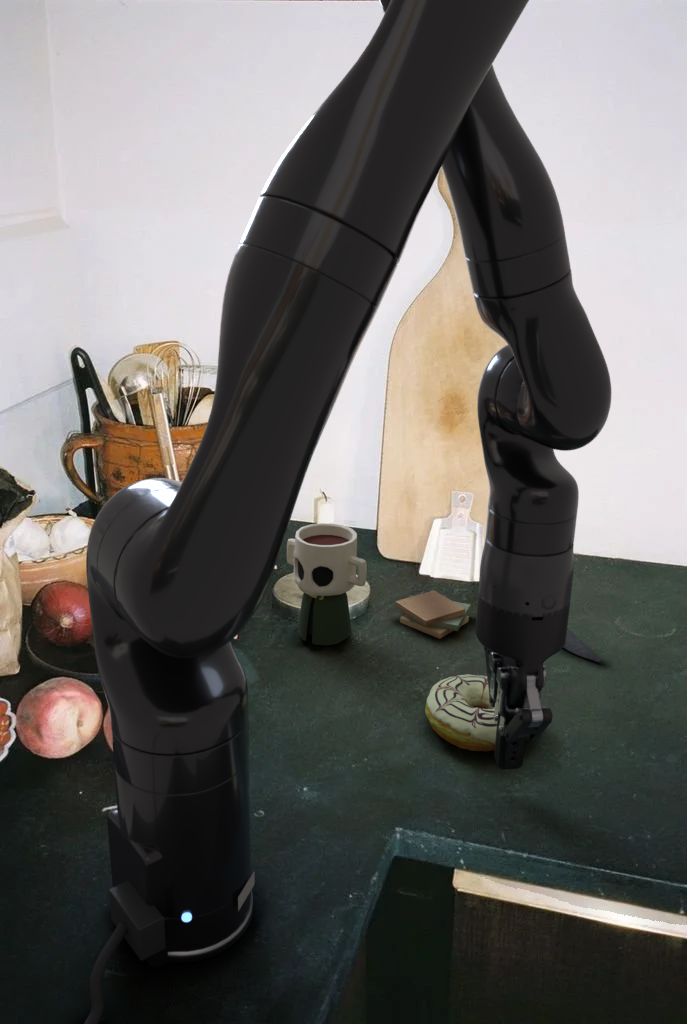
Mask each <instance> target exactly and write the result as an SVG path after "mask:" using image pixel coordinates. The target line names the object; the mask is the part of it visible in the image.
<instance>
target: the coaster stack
mask: <svg viewBox="0 0 687 1024" xmlns="http://www.w3.org/2000/svg"><path fill="white" fill-rule="evenodd" d="M471 607H472V606H471V604H470V603H464V602H458V601H454V600H451V599H450V598H448V597H447V596H445V595H443V594H442V593H440V592H438V591H437V590H435V589H433V590H430V591H427V592H422V593H419V594H416V595H412V596H409V597H406V598H403V599H398V600H395V608H396V609H398V610H399V611H401V612H403V613H404V614H403V615H401V616H400V617H399V623H400V624H402V625H405V626H408V627H410V628H412V629H415V630H417V631H419V632H422V633H424V634H427V635H429V636H432V637H434V638H437V639H438V640H440V639H442V638H444V637H445V636H447V635H449V634H450V633H451V634H452V632H454V631H455V632H459V630H460V628H461V627H462V626H464V625H466V624H467V623H469V621H470V616H469V615H468V614H469V613H470V611H471Z"/></svg>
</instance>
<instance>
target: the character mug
mask: <svg viewBox="0 0 687 1024" xmlns="http://www.w3.org/2000/svg"><path fill="white" fill-rule="evenodd" d="M357 555H358V534H357V532H356V531H355V530H354V529H353V528H351V527H348V526H347V525H344V524H337V523H333V522H332V523H329V522H328V523H326V522H324V523H323V522H319V523H312V524H308V525H304V526H302V527H300V528H299V529H298V530H296V532H295V537H294V538H288V540H287V542H286V562H287V564H288V565H291V566H292V567H293V578H294V583H295V584H296V585H297V587H298V589H299V590H300V591H301V592H302V596H301V597H302V598H301V603H300V610H299V617H298V627H297V630H298V631H297V633H298V634H297V635H298V637H299V638H300V639H301V640H302V641H305V642H307V634H308V635H310V636H311V637H312V639H311V644H312V645H316V646H318V645H319V646H331V645H338V644H339V643H341V642H343V641H344V640H346V639H347V638H348V637H349V636H350V635H351V633H352V623H351V614H350V606H349V597H348V594H347V592H348V593H349V591H351V590H352V589H353V588H354V587H355V586H358V587H365V585H366V582H367V573H368V571H367V570H368V569H367V568H368V567H367V566H368V564H367V561H366V560H365V559H364V558H360V557H358V556H357Z"/></svg>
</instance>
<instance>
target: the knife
mask: <svg viewBox="0 0 687 1024" xmlns="http://www.w3.org/2000/svg"><path fill="white" fill-rule="evenodd" d="M562 649H565V650H566V651H568V652H569V653H572V654H573V655H576V656H578V657H582V658H583V659H587V660H590V661H593V662H596V663H602V660H601V658H600V657H599V656H598V654H596V653H595V651H593V650H592V649H591V647H589V646H588V645H587V644H586V643H585V642H584V641H583V640H582V639H579V638H578V636H577V635H575V633H574V632H573V631H571V630H569V627H567V635H566V642H565V645H564V647H563V648H562Z"/></svg>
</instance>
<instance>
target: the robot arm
mask: <svg viewBox="0 0 687 1024" xmlns="http://www.w3.org/2000/svg"><path fill="white" fill-rule="evenodd" d="M529 1H530V0H378V2H379V4H380V7H381V9H382V13H383V14H384V15H383V16H382V18H381V20H380V23H379V25H378V26H377V28H376V30H375V32H374V34H373V35H372V37H371V39H370V41H369V42H368V44H367V45H366V47H365V49H364V50H363V51H362V53H361V54H360V56H359V57H358V59H357V60H356V61H355V63H354V64H353V65H352V67H351V68H350V69H349V70H348V72H347V73H346V74H345V75H344V76H343V78H342V79H341V81H340V82H339V83H338V84H337V85H336V86H335V88H334V89H333V90H332V91H331V92H330V94H328V96H327V97H326V98H325V100H324V101H323V102H322V103H321V104H320V105H319V107H317V109H316V111H315V112H314V113H313V114H312V115H311V116H310V118H309V119H308V120H307V121H306V123H305V124H304V126H303V127H302V128H301V130H300V131H299V132H298V133H297V135H296V136H295V138H294V139H293V140H292V141H291V143H290V144H289V145H288V147H287V148H286V150H285V152H283V153H282V155H281V157H280V158H279V160H278V161H277V162H276V164H275V166H274V168H273V170H272V171H271V173H270V175H269V176H268V178H267V180H266V183H265V184H264V186H263V189H262V191H261V193H260V196H259V198H258V200H257V202H256V204H255V207H254V210H253V211H252V214H251V215H250V218H249V221H248V222H247V225H246V227H245V230H244V231H243V234H242V237H241V239H240V241H239V244H238V246H237V248H236V251H235V254H234V256H233V259H232V262H231V264H230V266H229V267H230V268H229V271H228V274H227V278H226V282H225V285H224V292H223V298H222V305H221V315H220V322H219V323H220V324H219V337H218V355H217V357H218V358H217V369H216V378H215V386H214V387H215V388H214V394H213V399H212V404H211V409H210V413H209V417H208V420H207V422H206V423H207V424H206V427H205V430H204V432H203V434H202V438H201V440H200V443H199V445H198V447H197V448H196V451H195V453H194V456H193V458H192V460H191V463H190V464H189V467H188V469H187V470H186V473H185V475H184V478H183V479H182V481H179V480H176V479H172V478H165V477H153V478H146V479H142V480H141V479H140V480H138V481H135V482H132V483H131V484H128V485H126V486H125V487H123V488H121V489H120V490H117V492H115V494H113V495H112V496H111V497H110V498H109V499H108V500H107V501H106V502H105V503H104V504H103V506H102V507H101V508H100V510H99V511H98V514H97V515H96V517H95V519H94V521H93V523H92V526H91V529H90V532H89V535H88V539H87V547H86V555H85V556H86V558H85V565H86V566H85V567H86V568H85V569H86V585H87V594H88V603H89V611H90V621H91V629H92V638H93V647H94V654H95V662H96V667H97V670H98V671H97V672H98V676H99V679H100V683H101V686H102V689H103V692H104V694H105V695H104V696H105V698H106V701H107V705H108V712H109V721H110V730H111V743H112V757H113V770H114V772H113V773H114V782H115V784H114V785H115V798H116V808H114V809H111V810H109V811H108V812H107V814H106V826H107V839H108V849H109V861H110V872H111V873H110V874H111V885H112V887H111V888H109V889H108V896H109V905H110V906H109V909H110V920H111V921H112V923H113V924H114V925H115V929H114V931H113V932H112V934H111V935H110V937H109V938H108V940H107V941H106V943H105V945H104V946H103V947H102V949H101V951H100V953H99V954H98V957H97V959H96V961H95V962H94V965H93V968H92V972H91V975H90V979H89V994H90V1001H91V1002H90V1003H91V1008H90V1013H89V1014H88V1016H87V1018H86V1019H85V1021H84V1023H83V1024H99V1023H100V1021H101V1019H102V1017H103V1014H104V1010H105V999H104V992H103V978H104V976H105V972H106V970H107V968H108V966H109V963H110V961H111V959H112V957H113V955H114V954H115V952H116V951H117V949H118V948H119V947H120V944H121V943H122V941H123V940H124V939H125V940H126V942H127V944H128V945H129V946H130V948H131V949H132V951H133V952H134V953H135V954H136V956H137V957H138V959H139V960H140V961H144V960H145V961H146V962H147V963H148V965H149V966H150V968H152V969H157V968H159V967H161V966H163V965H165V964H167V963H176V964H177V963H179V964H180V963H181V964H182V963H183V964H185V963H193V962H199V961H203V960H207V959H210V958H213V957H216V956H217V955H219V954H221V953H223V952H225V951H227V950H228V949H230V948H231V947H232V946H233V945H235V944H236V943H237V942H238V941H239V940H240V939H241V938H242V937H243V935H244V934H245V933H246V931H247V929H248V928H249V926H250V924H251V921H252V918H253V912H254V898H253V896H254V895H253V888H254V886H255V883H256V882H255V881H256V880H255V875H256V874H255V871H253V872H252V853H251V850H252V849H251V847H252V846H251V792H250V791H251V789H250V785H251V783H250V722H249V721H250V720H249V719H250V717H249V716H250V715H249V688H248V686H249V685H248V680H247V676H246V673H245V671H244V668H243V666H242V664H241V662H240V659H239V658H238V656H237V654H236V651H235V650H234V647H233V645H232V640H234V639H235V638H236V637H237V636H238V635H240V633H241V632H242V631H243V630H244V628H245V627H246V626H247V624H248V623H249V622H250V621H251V619H252V618H253V617H254V615H255V613H256V612H257V609H258V608H259V606H260V604H261V603H262V600H263V598H264V596H265V593H266V591H267V589H268V587H269V584H270V581H271V579H272V577H273V573H274V570H275V568H276V565H277V561H278V559H279V556H280V553H281V549H282V546H283V543H284V541H285V537H286V535H287V531H288V528H289V525H290V522H291V518H292V515H293V514H294V510H295V506H296V504H297V501H298V498H299V494H300V492H301V489H302V486H303V483H304V480H305V478H306V475H307V472H308V469H309V466H310V464H311V462H312V458H313V457H314V456H313V455H314V453H315V451H316V448H317V446H318V444H319V442H320V439H321V437H322V434H323V433H324V430H325V428H326V426H327V423H328V421H329V419H330V416H331V414H332V411H333V409H334V408H335V404H336V402H337V400H338V397H339V395H340V393H341V390H342V388H343V386H344V383H345V381H346V378H347V376H348V374H349V372H350V369H351V366H352V364H353V362H354V360H355V358H356V355H357V353H358V351H359V348H360V347H361V345H362V343H363V341H364V338H365V337H366V334H367V332H369V331H368V330H369V329H370V327H371V325H372V323H373V321H374V319H375V317H376V314H377V312H378V310H379V308H380V306H381V303H382V301H383V299H384V297H385V294H386V292H387V290H388V288H389V286H390V284H391V281H392V279H393V277H394V274H395V272H396V270H397V269H398V268H397V267H398V266H399V265H398V264H399V263H400V261H401V258H402V256H403V254H404V251H405V249H406V246H407V244H408V241H409V238H410V236H411V234H412V231H413V229H414V227H415V224H416V223H417V219H418V217H419V215H420V213H421V211H422V209H423V206H424V204H425V202H426V200H427V198H428V195H429V194H430V192H431V189H432V188H433V185H434V183H435V181H436V179H437V177H438V175H439V173H440V170H442V173H443V175H444V179H445V181H446V185H447V188H448V189H447V190H448V192H449V196H450V200H451V203H452V207H453V210H454V215H455V219H456V223H457V227H458V231H459V235H460V241H461V245H462V249H463V254H464V259H465V264H466V267H467V272H468V276H469V281H470V285H471V290H472V295H473V299H474V303H475V307H476V310H477V313H478V315H479V317H480V320H481V321H482V322H483V324H484V325H485V326H486V327H487V328H488V329H489V330H491V331H492V332H493V333H495V334H497V335H498V337H500V338H501V339H503V341H505V342H506V345H504V346H502V347H501V348H500V349H498V350H497V351H496V352H495V353H494V354H493V355H492V357H490V359H489V361H488V362H487V363H486V366H485V367H484V370H483V372H482V374H481V377H480V381H479V385H478V391H477V400H476V402H477V404H476V405H477V406H476V407H477V409H476V410H477V420H478V421H477V422H478V429H479V435H480V441H481V448H482V456H483V461H484V468H485V471H486V476H487V479H488V486H489V494H488V501H487V511H486V512H487V516H486V527H485V539H484V544H483V548H482V553H481V558H480V564H479V565H480V566H479V578H478V579H479V580H478V592H477V602H476V603H477V606H476V618H475V636H476V639H477V640H478V642H479V643H480V644H481V645H482V646H483V650H484V655H485V657H484V658H485V666H486V667H485V668H486V676H487V678H488V688H489V703H490V705H491V707H495V710H494V721H495V724H496V725H497V729H496V740H495V750H494V751H493V753H494V754H493V758H494V759H495V763H496V764H497V767H498V768H499V769H500V770H519V769H520V768H522V767H523V764H524V753H525V744H526V741H530V742H533V741H537V740H538V739H539V738H540V736H541V735H542V734H543V733H544V732H545V731H546V729H547V728H548V727H549V726H550V724H551V723H552V722H553V717H554V715H553V711H552V709H551V707H546V706H544V705H543V706H542V704H541V696H542V690H543V688H544V687H545V686H546V680H547V669H546V665H544V663H545V662H546V661H547V660H549V658H551V657H552V656H555V655H556V654H558V653H559V652H561V650H562V649H564V648H563V647H564V645H565V642H566V635H567V628H568V625H569V618H570V617H569V616H570V609H571V600H572V591H573V582H574V581H573V580H574V573H575V572H574V571H575V559H574V543H575V537H576V526H577V518H578V509H579V499H580V497H579V496H580V495H579V486H578V482H577V480H576V478H575V477H574V475H572V474H571V473H570V472H569V470H567V469H566V468H565V467H564V466H563V465H562V464H561V462H560V461H559V460H558V458H557V456H556V454H555V451H562V452H563V451H564V452H567V451H569V452H570V451H575V450H579V449H581V448H584V447H586V446H587V445H589V444H590V443H591V442H593V441H594V440H595V439H597V437H598V436H599V434H600V433H601V432H602V430H603V428H604V426H605V425H606V422H607V421H608V418H609V413H610V410H611V406H612V405H611V404H612V381H611V376H610V372H609V368H608V364H607V361H606V359H605V355H604V353H603V351H602V349H601V346H600V344H599V341H598V339H597V336H596V334H595V331H594V330H593V327H592V324H591V322H590V320H589V317H588V314H587V312H586V311H585V308H584V306H583V305H582V303H581V301H580V299H579V297H578V295H577V293H576V290H575V288H574V282H573V273H572V269H571V260H570V255H569V249H568V243H567V236H566V231H565V225H564V219H563V215H562V214H563V213H562V210H561V206H560V201H559V199H558V196H557V193H556V189H555V186H554V184H553V182H552V179H551V177H550V174H549V173H548V170H547V168H546V167H545V164H544V162H543V160H542V159H541V156H540V155H539V153H538V152H537V150H536V149H535V146H534V145H533V143H532V142H531V139H530V138H529V136H528V135H527V133H526V131H525V129H524V127H523V126H522V124H521V122H520V121H519V119H518V118H517V116H516V114H515V112H514V110H513V108H512V106H511V104H510V103H509V101H508V99H507V97H506V95H505V92H504V90H503V88H502V86H501V83H500V81H499V78H498V75H497V74H496V71H495V67H494V65H493V63H494V62H495V60H496V59H497V57H498V55H499V54H500V51H501V49H503V46H504V45H505V43H506V41H507V39H508V38H509V36H510V35H511V32H512V31H513V29H514V27H515V26H516V23H517V22H518V20H519V19H520V17H521V15H522V13H523V12H524V10H525V8H526V7H527V4H528V3H529Z"/></svg>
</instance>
